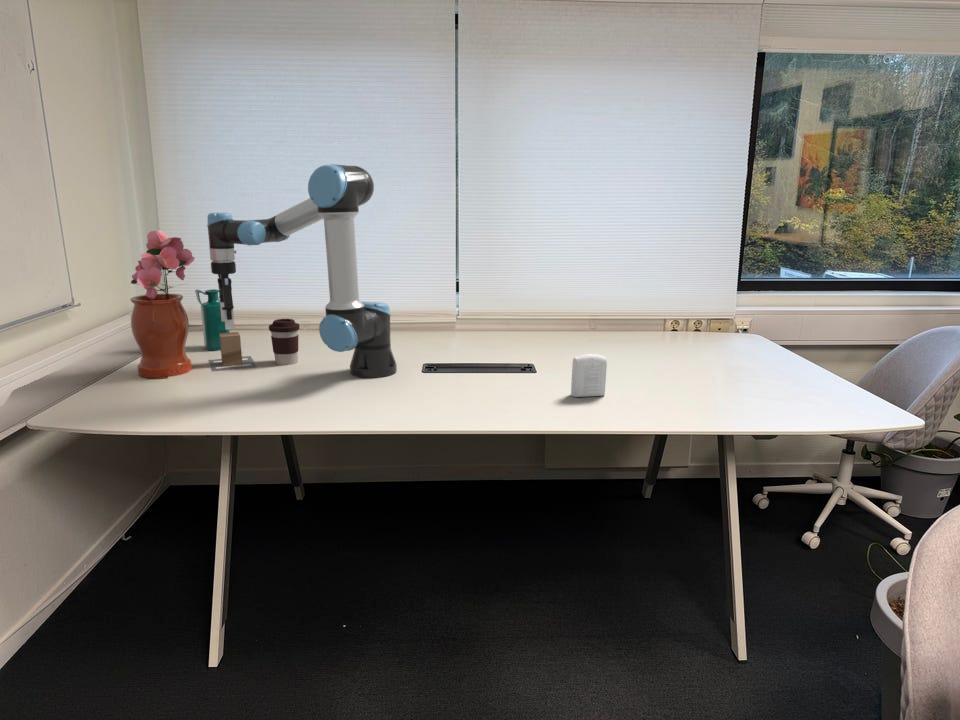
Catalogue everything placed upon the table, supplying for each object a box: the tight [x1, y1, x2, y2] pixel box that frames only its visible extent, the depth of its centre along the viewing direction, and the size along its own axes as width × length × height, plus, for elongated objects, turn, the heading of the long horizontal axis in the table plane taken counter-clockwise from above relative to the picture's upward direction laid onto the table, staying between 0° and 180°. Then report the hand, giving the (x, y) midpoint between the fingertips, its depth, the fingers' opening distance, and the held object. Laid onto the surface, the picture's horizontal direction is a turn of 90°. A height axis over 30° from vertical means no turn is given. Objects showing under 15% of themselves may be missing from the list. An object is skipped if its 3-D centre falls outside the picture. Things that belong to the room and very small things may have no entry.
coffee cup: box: [268, 318, 301, 366], centre depth 225 cm, size 10×10×15 cm
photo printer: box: [570, 353, 608, 398], centre depth 194 cm, size 10×4×12 cm, turn 103°
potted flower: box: [130, 229, 195, 379], centre depth 211 cm, size 19×25×45 cm
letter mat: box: [208, 355, 257, 372], centre depth 225 cm, size 16×14×1 cm
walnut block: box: [219, 331, 243, 366], centre depth 224 cm, size 6×6×10 cm
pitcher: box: [194, 288, 231, 352], centre depth 244 cm, size 10×8×22 cm
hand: (227, 325), depth 222 cm, fingers open, 13 cm apart
